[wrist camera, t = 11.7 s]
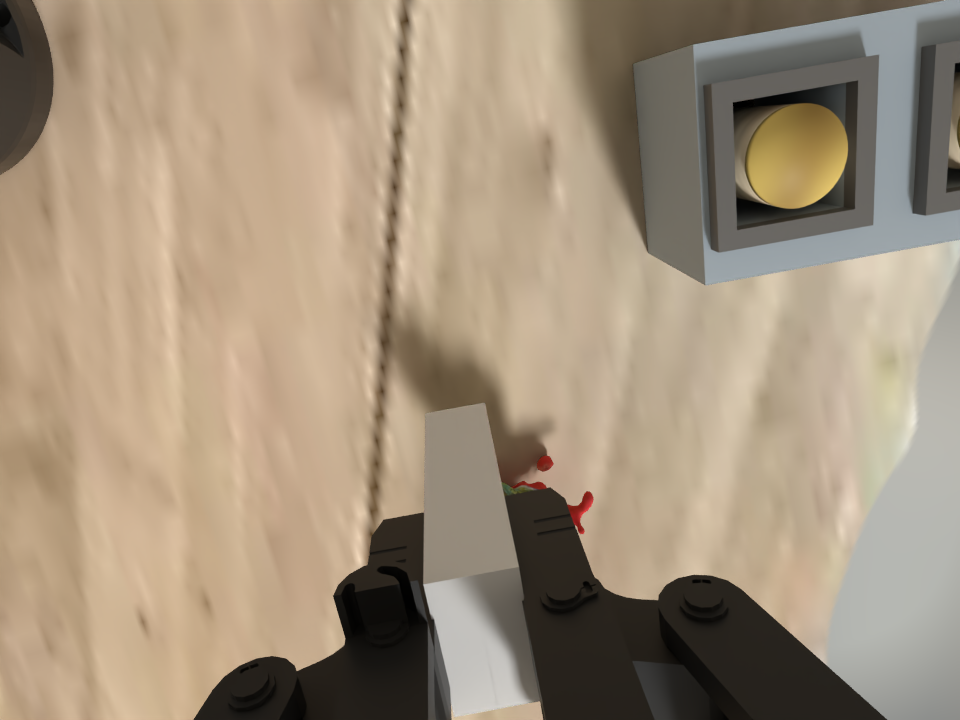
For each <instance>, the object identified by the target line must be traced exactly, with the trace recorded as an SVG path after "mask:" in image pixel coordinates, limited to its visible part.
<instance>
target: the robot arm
mask: <svg viewBox="0 0 960 720" xmlns="http://www.w3.org/2000/svg"><path fill="white" fill-rule="evenodd" d="M52 96H53V65H52V58H51V52H50V47H49V43H48V40H47V36H46V33H45V30H44V27H43V24H42V22H41V19H40V17H39V15H38V12H37V10H36V8H35V6H34V4H33V2H32V1H31V0H0V175H1V174H2V173H4V172H6V171H7V170H9V169H10V168H12V167H13V166H15V165H16V164H17V163H18V162H19V161H20V160H22V159H23V158H24V157H25V155H26V154H27V153H28V152H29V151H30V150H31V148H32V147H33V146H34V144H35V143H36V141H37V140H38V138H39V136H40V135H41V133H42V131H43V128H44V126H45V124H46V121H47V118H48V115H49V111H50V107H51V102H52ZM333 597H334V601H335V604H336V607H337V611H338V614H339V618H340V621H341V625H342V628H343V631H344V635H345V638H346V639H345V645H344V646H343V647H342V648H341V649H339V650H338V651H337V652H335V653H334V654H333V655H331V656H329V657H327V658H325V659H323V660H321V661H319V662H317V663H315V664H312V665H310V666H308V667H306V668H303V669H301V670H299V671H296V668H295V666H294V665H293V664H292V663H291V662H289V661H288V660H287V659H285V658H280V657H274V656H270V657H264V658H258V659H254V660H252V661H250V662H247V663H245V664H243V665H240V666H239V667H237V668H236V669H234V670H233V671H232V672H230V673H229V674H228V675H226V676H225V677H224V678H223V679H222V680H221V681H220V682H219V683H218V685H217V686H216V687H215V688H214V689H213V690H212V692H211V694H210V695H209V697H208V698H207V700H206V701H205V703H204V704H203V706H202V707H201V709H200V710H199V712H198V714H197V715H196V717H195V718H194V720H451V705H452V709H453V713H454V717H458V716H463V715H469V714H474V713H479V712H484V711H490V710H495V709H500V708H506V707H511V706H516V705H522V704H527V703H532V702H538V701H540V703H541V708H542V714H543V720H887V719H886V718H885V717H884V716H882V715H881V714H880V713H879V712H878V711H877V710H876V709H874V708H873V707H872V706H871V705H870V704H869V703H868V702H867V701H866V700H864V699H863V698H862V697H861V696H860V695H859V694H858V693H857V692H855V691H854V690H853V689H852V688H851V687H850V686H849V685H848V684H847V683H845V682H844V681H843V680H842V679H841V678H840V677H839V676H838V675H836V674H835V673H834V672H833V671H832V670H831V669H830V668H829V667H828V666H826V665H825V664H824V663H823V662H822V661H821V660H820V659H819V658H818V657H816V656H815V655H814V654H813V653H812V652H811V651H810V650H809V649H807V648H806V647H805V646H804V645H803V644H802V643H801V642H800V641H798V640H797V639H796V638H795V637H794V636H793V635H792V634H791V633H790V632H788V631H787V630H786V629H785V628H784V627H783V626H782V625H781V624H779V623H778V622H777V621H776V620H775V619H774V618H773V617H772V616H771V615H769V614H768V613H767V612H766V611H765V610H764V609H763V608H762V607H760V606H759V605H758V604H757V603H756V602H755V601H754V600H753V599H751V598H750V597H749V596H748V595H747V594H746V593H745V592H744V591H743V590H741V589H740V588H738V587H737V586H735V585H734V584H732V583H731V582H729V581H727V580H724V579H721V578H717V577H714V576H707V575H691V576H686V577H682V578H678V579H676V580H674V581H672V582H671V583H669V584H667V585H666V586H665V587H664V589H663V590H662V592H661V593H660V594H659V600H641V599H633V598H626V597H623V596H619V595H616V594H614V593H612V592H610V591H608V590H606V589H605V588H604V587H603V586H602V584H601V583H600V582H599V580H598V579H596V578H595V577H594V575H593V573H592V571H591V568H590V565H589V562H588V560H587V557H586V554H585V552H584V549H583V546H582V543H581V541H580V538H579V535H578V533H577V530H576V528H575V525H574V522H573V519H572V517H571V514H570V511H569V508H568V506H567V503H566V500H565V498H563V497H562V496H561V495H559V494H558V493H557V492H556V491H554V490H553V489H552V488H545V489H539V490H534V491H528V492H523V493H518V494H512V495H507V496H504V493H503V488H502V483H501V478H500V473H499V468H498V463H497V459H496V454H495V449H494V444H493V439H492V434H491V430H490V425H489V420H488V415H487V410H486V405H485V403H479V404H474V405H468V406H463V407H457V408H452V409H446V410H441V411H435V412H430V413H425V478H424V513H418V514H413V515H408V516H402V517H397V518H391V519H386V520H383V521H382V523H381V524H380V526H379V527H378V528H377V530H376V531H375V532H374V534H373V535H372V538H371V545H370V556H369V560H368V565H367V566H363V567H361V568H360V569H358V570H356V571H354V572H353V573H351V574H349V575H348V576H347V577H346V578H345V579H344V580H343V581H342V582H341V583H340V584H339V585H338V587H337V589H336V591H335V593H334V595H333Z"/></svg>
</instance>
